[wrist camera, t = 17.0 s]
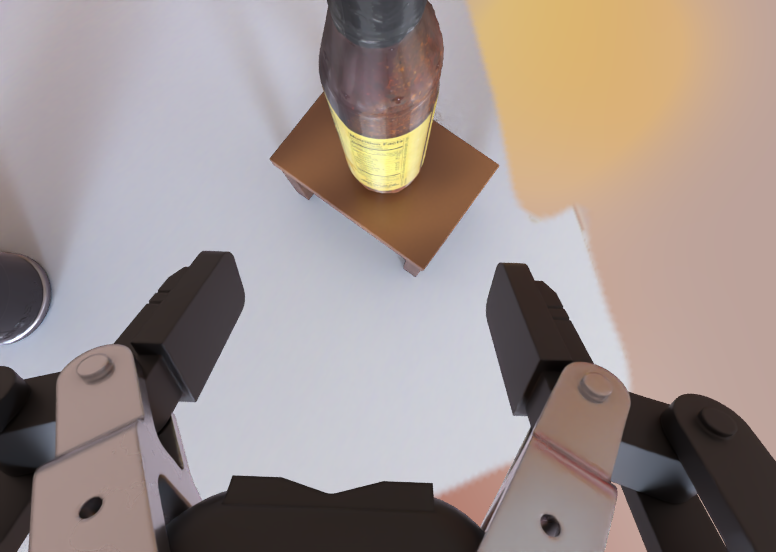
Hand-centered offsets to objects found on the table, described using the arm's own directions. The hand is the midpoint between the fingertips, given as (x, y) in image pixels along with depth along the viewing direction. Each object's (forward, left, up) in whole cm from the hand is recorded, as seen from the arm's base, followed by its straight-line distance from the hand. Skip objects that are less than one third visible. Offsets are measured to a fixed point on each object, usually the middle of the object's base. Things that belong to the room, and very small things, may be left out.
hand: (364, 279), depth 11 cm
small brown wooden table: (-7, +10, -25) cm, 28 cm away
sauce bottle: (-6, +9, -17) cm, 21 cm away
